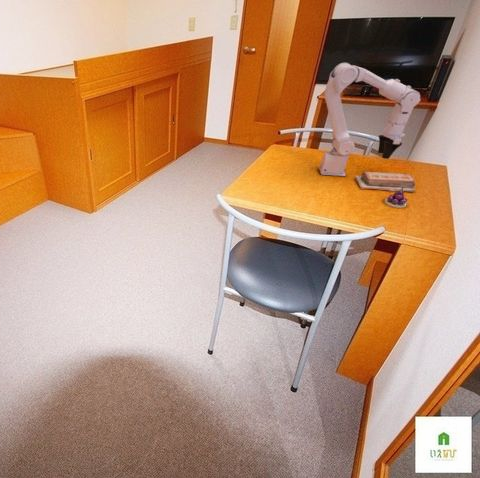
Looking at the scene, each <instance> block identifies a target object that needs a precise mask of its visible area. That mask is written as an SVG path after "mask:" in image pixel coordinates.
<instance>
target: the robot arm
mask: <svg viewBox="0 0 480 478" xmlns="http://www.w3.org/2000/svg"><path fill="white" fill-rule="evenodd" d="M328 77H329V78H328V81H327V83H326V86H325V89H324V93H323V95H324V99H325V104H326V108H327V112H328V115H329V122H330V125H331V129H332V141H331V146H332V148H331V150H330V151H325V152H324V153H323V154H322V157H321V160H320V164H319V167H318V169H319V173H320V175H322V176H335V177H346V176H347V174H346V172H345V169H346V167H347V164H348V161H349V158H350V156H351V154H352V153H353V152H354V150H355V149H356V144H355V143H354V142H353V141H352V140H351V136H350V134H349V131H348V126H347V121H346V118H345V113H344V108H343V103H342V99H341V94H342V92H343V91H344V90H345V88H347V87H348V86H350V85H351V84H352V83H353V82H355V83H359V82H364V83H366V84H369V85H371V86H372V87H374V88H377V89H378V93H379V95H381V96H383V97H384V98H386V99H389V100H391V101H392V102H395V104H394V107H393V109H392V112H391V114H390V116H389V120H388V121H387V124H386V127H384V128H383V131H382V134H379V135H378V141H379V142H378V149H377V153H378V154H382V156H381V158H382V159H388V160H389V159H390V158H391V156H392V155H393V154H394V153H395V151H396V150H397V149H398V148H400V147H401V146H402V145H403V143H402V137H405V136H406V134H405V133H404V130H405V127H406V125H407V123H408V121H409V119H410V116H411V114H412V112H413V109H414V108H415V107H416V106H417V105H418V104H419V103H420V102H421V100H422V99H421V94H420V92H419V91H417V90H415V89H413V88H412V86H411V85H405V84H403V83H401V80H400V79H398V78H395V79H394V78H391V79H384V78H382V77H380V76H378V75H376V74H375V73H373V72H371V71H370V70H368V69H366V68H363V67H360V66H358V65H355V64H354V65H353V64H350V63H349V62H341V63H338V64H337V65H336V66H335V67H334V68H333V70H332V71H331V72H330V74H329V76H328Z"/></svg>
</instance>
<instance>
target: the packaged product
mask: <svg viewBox="0 0 480 478" xmlns="http://www.w3.org/2000/svg"><path fill="white" fill-rule="evenodd" d="M355 180H356V182H357V184H358V185H359V187H360V189H361V190H362V189H363V190H365V189H366V190H369V189H370V190H381V191H389V192H397V191H399V190H401V189H402V187H404V188H403V191H404V192H408V193H414V192H416V191H417V190H416V189H415V186H416V179H415V178H414V177H413V175H412V174H410V173H399V172H397V173H396V172H383V171H381V172H380V171H363V172H362V174H361V175H358V174H357V175H355Z"/></svg>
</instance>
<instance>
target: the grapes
mask: <svg viewBox="0 0 480 478" xmlns="http://www.w3.org/2000/svg"><path fill="white" fill-rule="evenodd" d="M403 188H404V187H402V189H401V190H399V191H394V193H393V194H390V195H389V196H388V197H387V198H385V200H384V204H385V205H386V206H389V207H392V208H395V209H402V208H406V207H407V205H408V204H407V202H408V198H407V197H406V196H405V191H403Z"/></svg>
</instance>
